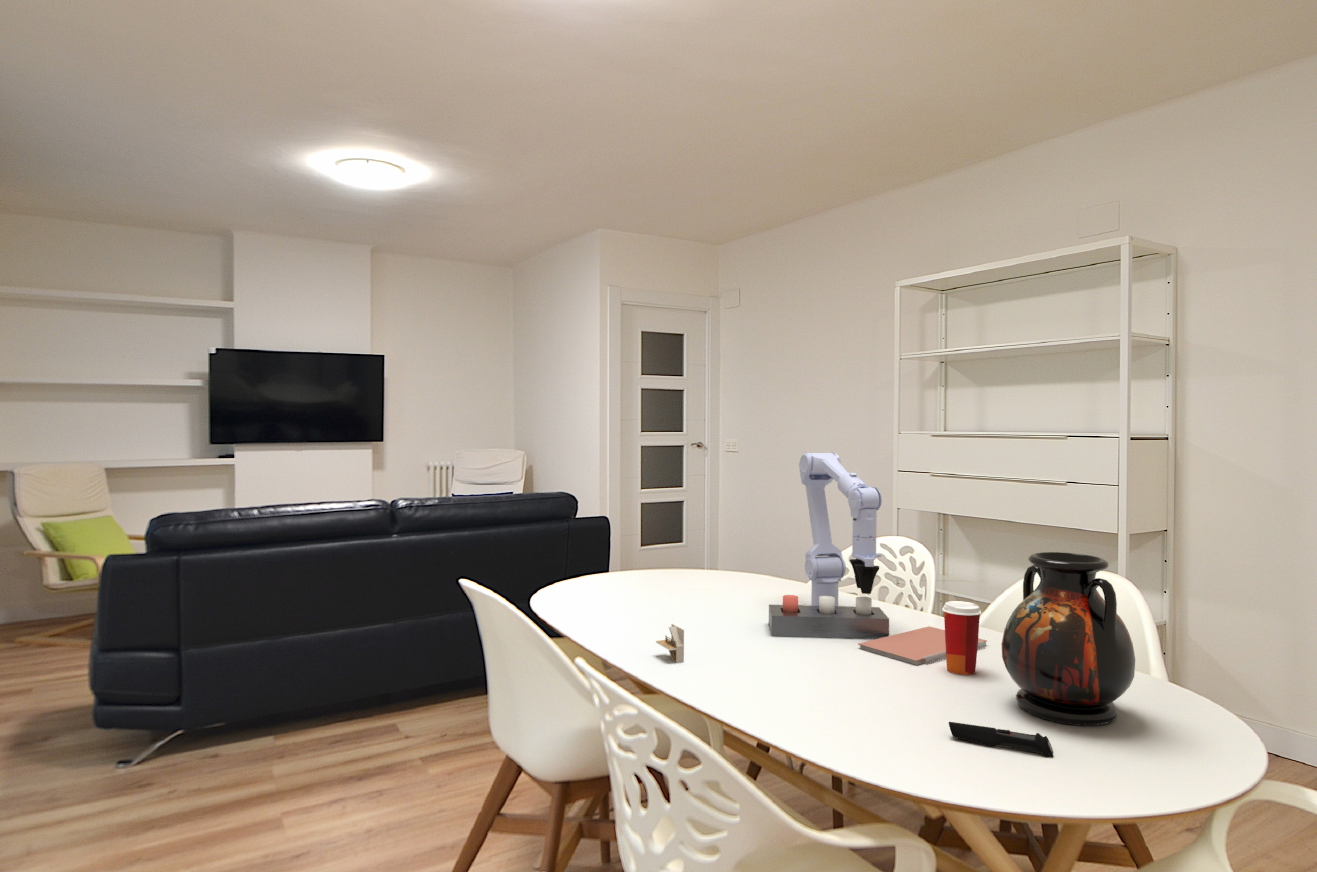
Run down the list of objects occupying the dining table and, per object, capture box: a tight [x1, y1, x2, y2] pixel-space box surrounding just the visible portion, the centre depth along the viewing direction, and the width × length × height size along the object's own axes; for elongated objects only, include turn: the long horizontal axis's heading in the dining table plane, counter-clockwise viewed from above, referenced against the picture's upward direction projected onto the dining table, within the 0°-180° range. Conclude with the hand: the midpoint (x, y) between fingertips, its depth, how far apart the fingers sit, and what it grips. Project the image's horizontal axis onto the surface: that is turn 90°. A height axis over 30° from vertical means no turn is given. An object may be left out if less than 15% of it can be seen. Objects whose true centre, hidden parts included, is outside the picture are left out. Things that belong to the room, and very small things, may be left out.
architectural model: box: [655, 623, 685, 664], centre depth 173 cm, size 3×7×7 cm, turn 27°
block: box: [768, 604, 890, 640], centre depth 196 cm, size 12×28×5 cm, turn 85°
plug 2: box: [855, 596, 873, 615], centre depth 195 cm, size 4×4×5 cm
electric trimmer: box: [948, 721, 1054, 758], centre depth 127 cm, size 4×16×3 cm, turn 64°
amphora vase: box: [1001, 551, 1136, 726], centre depth 142 cm, size 22×22×28 cm
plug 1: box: [819, 596, 835, 614], centre depth 196 cm, size 4×4×5 cm
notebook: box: [857, 625, 988, 666], centre depth 183 cm, size 27×17×2 cm, turn 126°
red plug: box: [782, 594, 799, 613], centre depth 197 cm, size 4×4×5 cm
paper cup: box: [941, 600, 982, 676], centre depth 165 cm, size 8×8×14 cm
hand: (863, 590), depth 195 cm, fingers open, 6 cm apart
